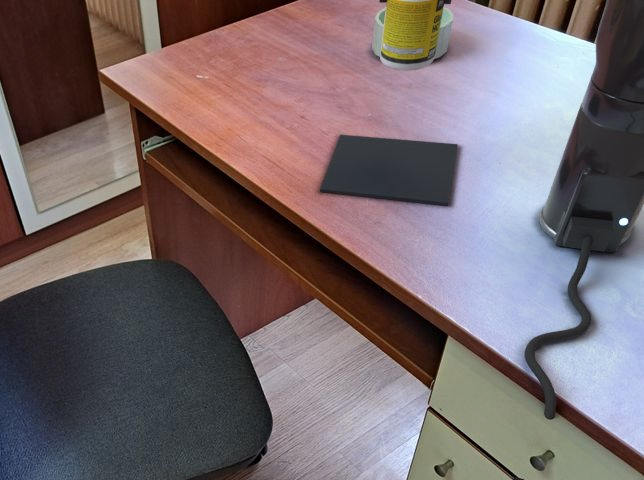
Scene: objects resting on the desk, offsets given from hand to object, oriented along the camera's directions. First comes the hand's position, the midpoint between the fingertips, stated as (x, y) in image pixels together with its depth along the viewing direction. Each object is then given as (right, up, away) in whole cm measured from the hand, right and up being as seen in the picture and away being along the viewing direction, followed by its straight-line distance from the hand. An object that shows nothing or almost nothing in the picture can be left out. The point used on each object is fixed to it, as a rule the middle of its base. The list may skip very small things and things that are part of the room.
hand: (415, 0), depth 73 cm
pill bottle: (+1, -5, +5) cm, 7 cm away
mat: (+2, -14, +16) cm, 21 cm away
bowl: (+13, +12, +39) cm, 43 cm away
